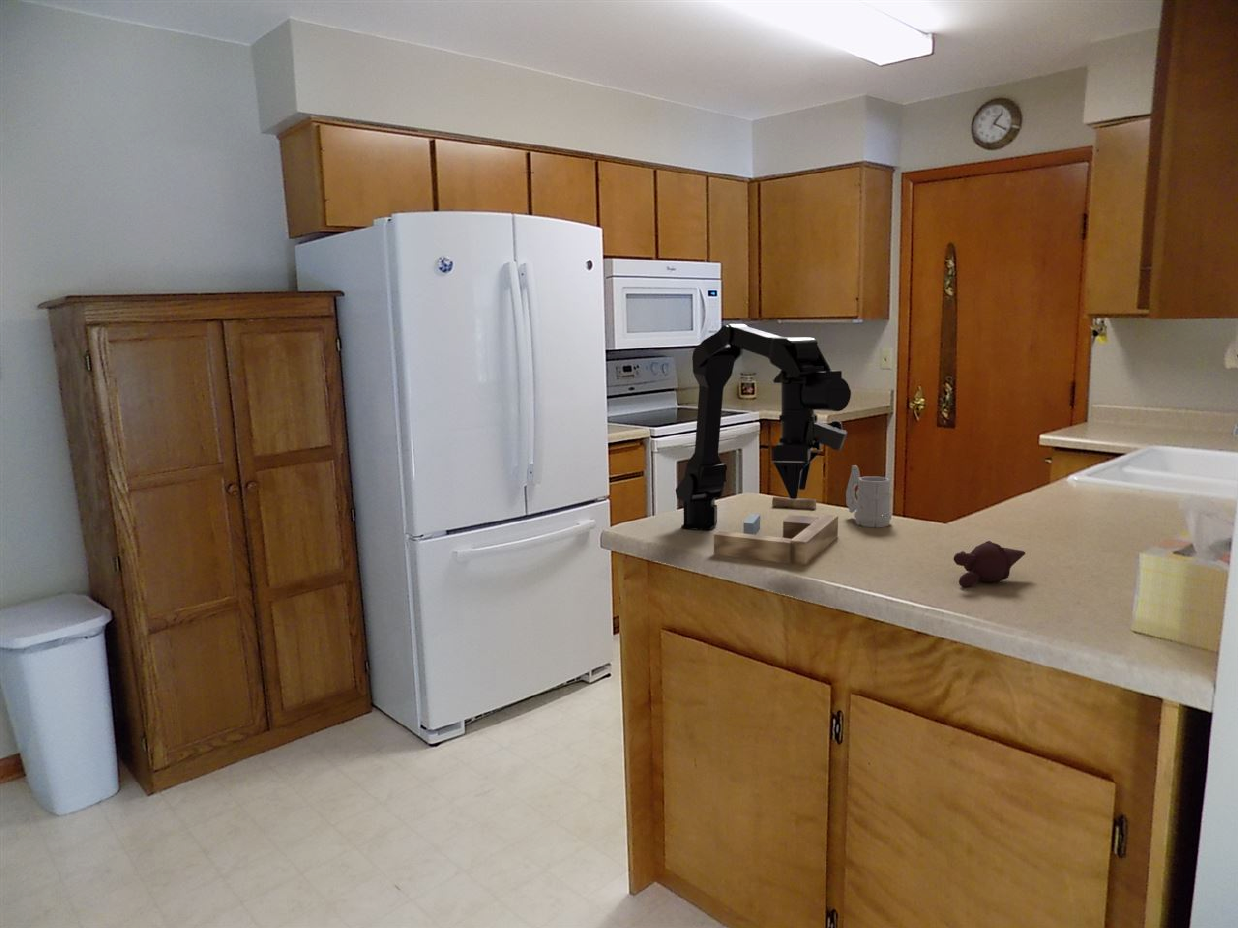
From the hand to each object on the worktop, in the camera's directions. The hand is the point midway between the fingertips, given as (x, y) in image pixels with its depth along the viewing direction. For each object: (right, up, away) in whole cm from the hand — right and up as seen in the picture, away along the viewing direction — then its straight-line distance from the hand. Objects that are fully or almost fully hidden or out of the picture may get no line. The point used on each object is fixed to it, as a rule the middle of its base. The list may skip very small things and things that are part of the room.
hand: (798, 494), depth 148 cm
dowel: (+10, -3, +46) cm, 47 cm away
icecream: (+30, -14, -11) cm, 35 cm away
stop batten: (-5, -9, +23) cm, 25 cm away
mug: (+22, -7, +30) cm, 38 cm away
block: (+5, -10, +19) cm, 22 cm away
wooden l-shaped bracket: (-1, -11, +13) cm, 17 cm away
